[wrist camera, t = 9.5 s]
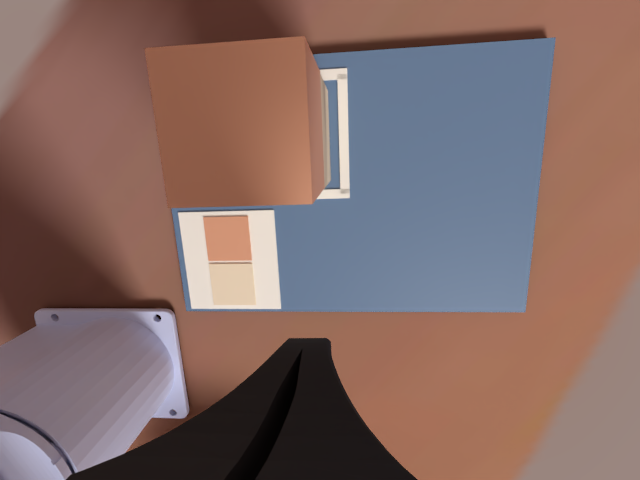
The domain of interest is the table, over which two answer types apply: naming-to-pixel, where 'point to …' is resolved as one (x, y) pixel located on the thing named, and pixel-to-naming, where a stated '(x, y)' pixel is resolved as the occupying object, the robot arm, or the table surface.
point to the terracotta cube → (238, 122)
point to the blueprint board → (395, 192)
